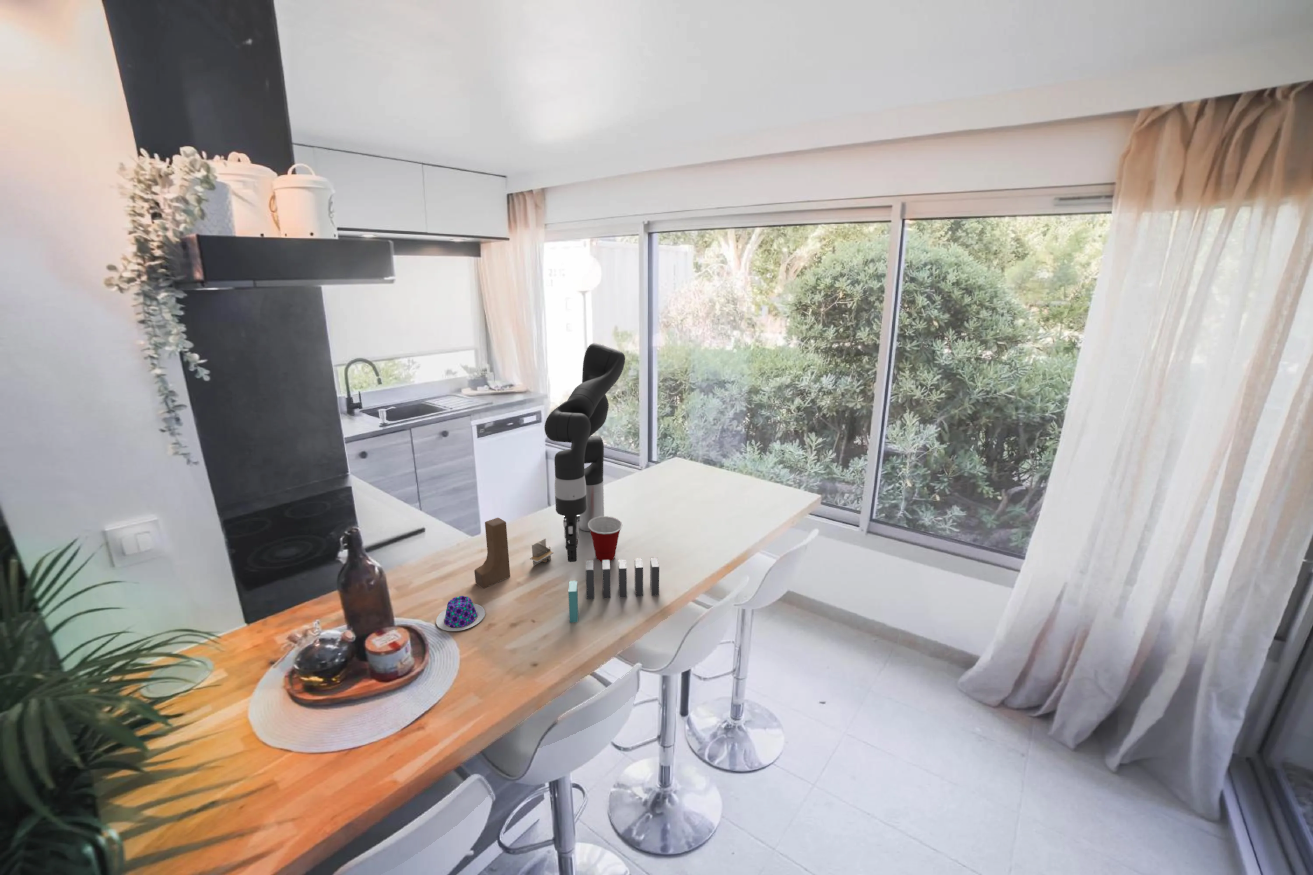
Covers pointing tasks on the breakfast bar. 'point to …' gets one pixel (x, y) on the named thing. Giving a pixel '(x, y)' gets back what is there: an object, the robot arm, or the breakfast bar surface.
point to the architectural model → (540, 552)
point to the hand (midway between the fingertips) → (573, 552)
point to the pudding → (460, 614)
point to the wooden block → (494, 555)
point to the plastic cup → (605, 536)
